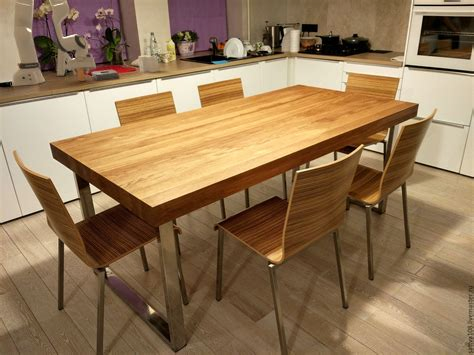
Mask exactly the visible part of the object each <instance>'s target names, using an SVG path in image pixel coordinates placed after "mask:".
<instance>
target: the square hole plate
mask: <svg viewBox="0 0 474 355" xmlns="http://www.w3.org/2000/svg"><path fill="white" fill-rule="evenodd" d="M91 75H92V76H91V77H92V78H93V79H94V80H95V81H104V80H114V79H119V78H120V76H119V72H118V71H116V70H114V69H106V70H95V71H91Z"/></svg>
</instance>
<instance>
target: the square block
mask: <svg viewBox="0 0 474 355" xmlns="http://www.w3.org/2000/svg"><path fill="white" fill-rule="evenodd" d="M76 75H77V79H78V81H79V82H83V81H86V72H85V70H84V69H77V70H76Z"/></svg>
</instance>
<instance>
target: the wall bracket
mask: <svg viewBox="0 0 474 355" xmlns="http://www.w3.org/2000/svg"><path fill="white" fill-rule="evenodd" d="M68 59H72V57H71V56H70V55H69V53H68V52H63V51H61V50H60V49H59V48H57V65H56V66H57V68H56V69H57V71H56V75H57V77H63V76H65V74H66V70H68V69H67V67H66V66H67V64H66V63H65V61H66V62H67V60H68Z"/></svg>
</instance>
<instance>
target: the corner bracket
mask: <svg viewBox="0 0 474 355" xmlns="http://www.w3.org/2000/svg"><path fill="white" fill-rule="evenodd" d="M137 58H138V64H139V67H138V68H139V72H141V73H147V72H148V73H155V72H160V64H159V61H158V60H157V59H156V58H155V57H154V56H153V55H145V54H144V55H138V56H137Z"/></svg>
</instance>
